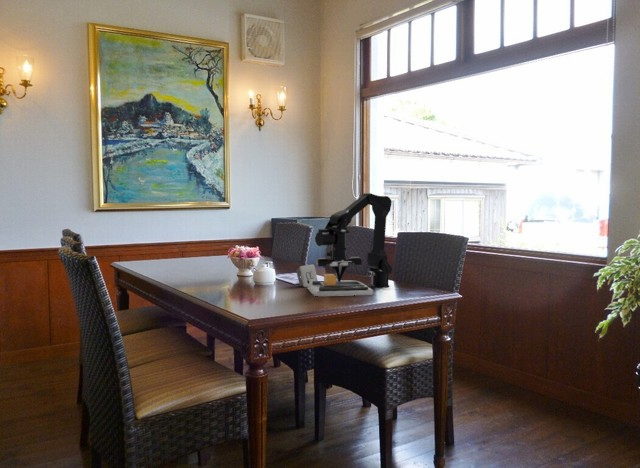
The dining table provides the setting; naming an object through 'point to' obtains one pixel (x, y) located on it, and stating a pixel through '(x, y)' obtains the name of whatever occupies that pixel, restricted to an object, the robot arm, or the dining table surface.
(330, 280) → the orange cube block
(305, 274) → the electrical switch
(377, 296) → the dining table surface
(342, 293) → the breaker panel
